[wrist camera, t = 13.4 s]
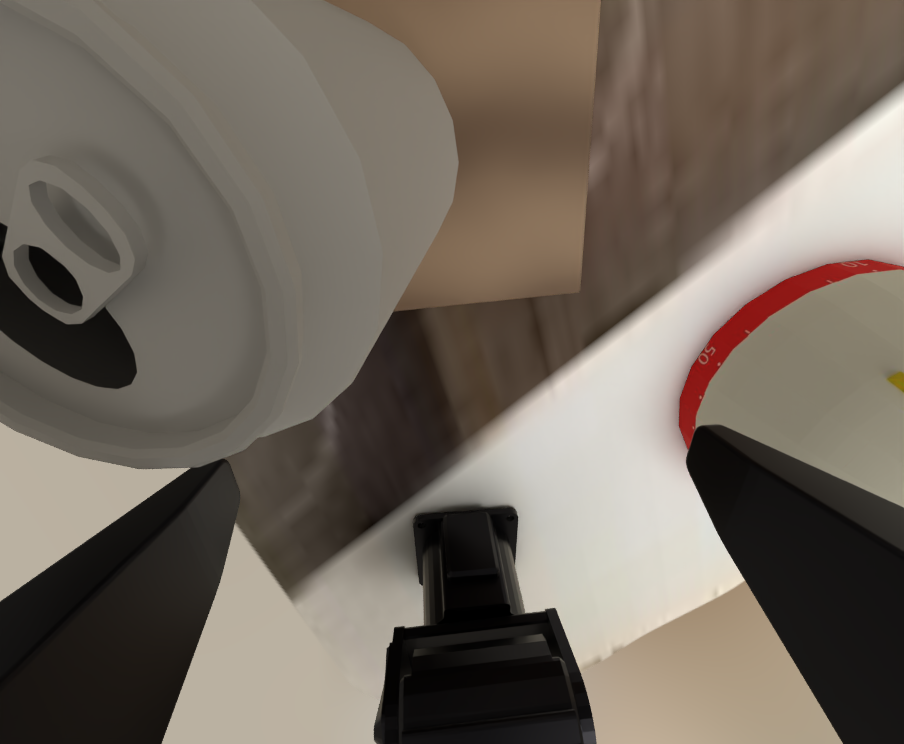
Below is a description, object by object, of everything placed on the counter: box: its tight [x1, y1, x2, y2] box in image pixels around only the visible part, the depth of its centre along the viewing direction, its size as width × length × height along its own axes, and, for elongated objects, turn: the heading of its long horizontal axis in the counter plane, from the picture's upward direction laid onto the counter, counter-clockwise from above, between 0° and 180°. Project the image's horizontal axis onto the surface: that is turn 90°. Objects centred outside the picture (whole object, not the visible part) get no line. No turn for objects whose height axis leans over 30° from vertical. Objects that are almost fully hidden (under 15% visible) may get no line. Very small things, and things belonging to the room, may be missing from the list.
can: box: [0, 0, 459, 469], centre depth 10 cm, size 8×8×12 cm
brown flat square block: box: [324, 0, 601, 311], centre depth 17 cm, size 11×11×2 cm
